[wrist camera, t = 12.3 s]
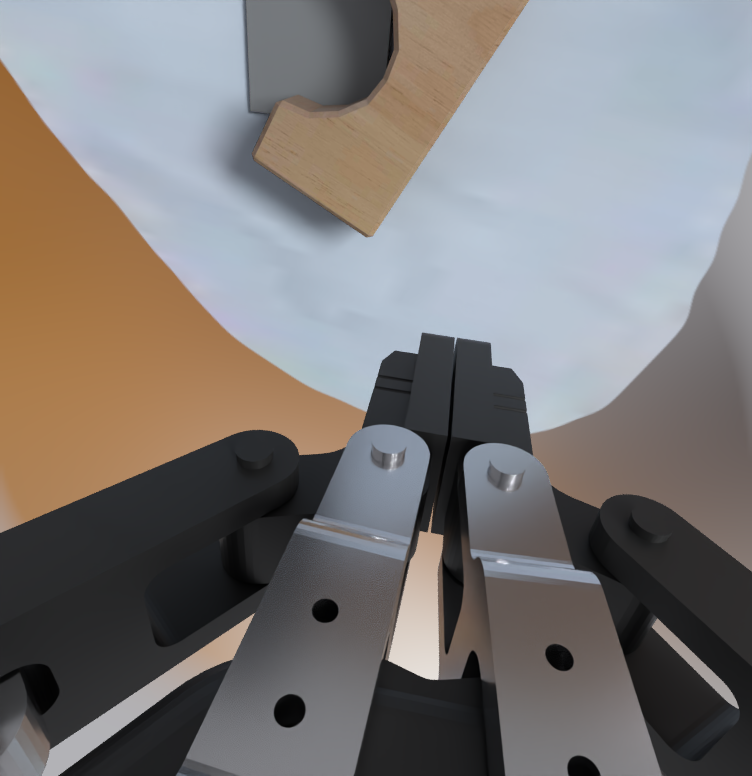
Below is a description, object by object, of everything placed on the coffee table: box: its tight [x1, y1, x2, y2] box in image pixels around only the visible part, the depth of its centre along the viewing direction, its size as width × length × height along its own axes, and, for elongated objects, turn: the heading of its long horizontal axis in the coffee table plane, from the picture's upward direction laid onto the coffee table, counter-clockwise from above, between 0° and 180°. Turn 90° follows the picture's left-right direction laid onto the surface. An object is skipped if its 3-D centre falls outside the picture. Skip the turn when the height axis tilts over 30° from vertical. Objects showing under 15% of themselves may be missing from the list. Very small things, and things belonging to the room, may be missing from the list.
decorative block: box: [252, 0, 529, 237], centre depth 38 cm, size 11×6×20 cm
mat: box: [246, 0, 392, 114], centre depth 40 cm, size 12×11×1 cm
